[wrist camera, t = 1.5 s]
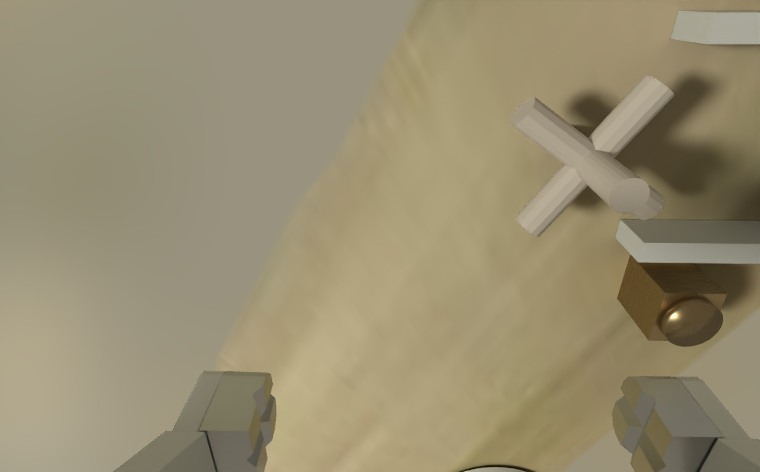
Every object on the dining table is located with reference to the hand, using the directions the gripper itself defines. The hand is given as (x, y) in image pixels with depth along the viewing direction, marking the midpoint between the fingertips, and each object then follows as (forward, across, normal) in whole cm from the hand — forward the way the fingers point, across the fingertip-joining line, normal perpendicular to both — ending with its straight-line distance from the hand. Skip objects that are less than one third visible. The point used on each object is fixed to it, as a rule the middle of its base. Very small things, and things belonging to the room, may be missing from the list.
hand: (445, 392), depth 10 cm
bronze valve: (+22, -19, +11) cm, 31 cm away
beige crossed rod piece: (+22, -10, 0) cm, 24 cm away
